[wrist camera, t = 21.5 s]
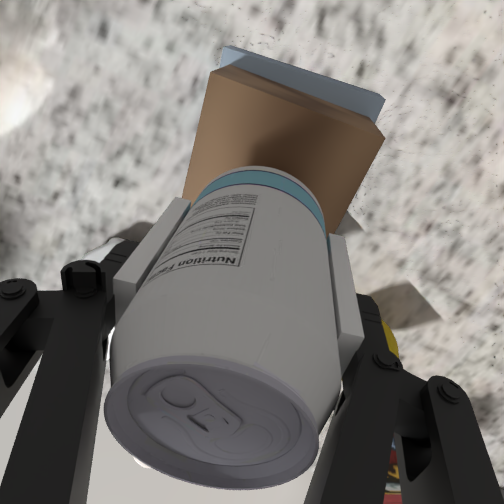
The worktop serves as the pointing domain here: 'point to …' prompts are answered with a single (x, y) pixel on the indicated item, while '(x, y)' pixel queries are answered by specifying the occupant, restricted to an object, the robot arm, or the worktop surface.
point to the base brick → (306, 81)
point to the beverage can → (231, 340)
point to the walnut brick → (281, 139)
